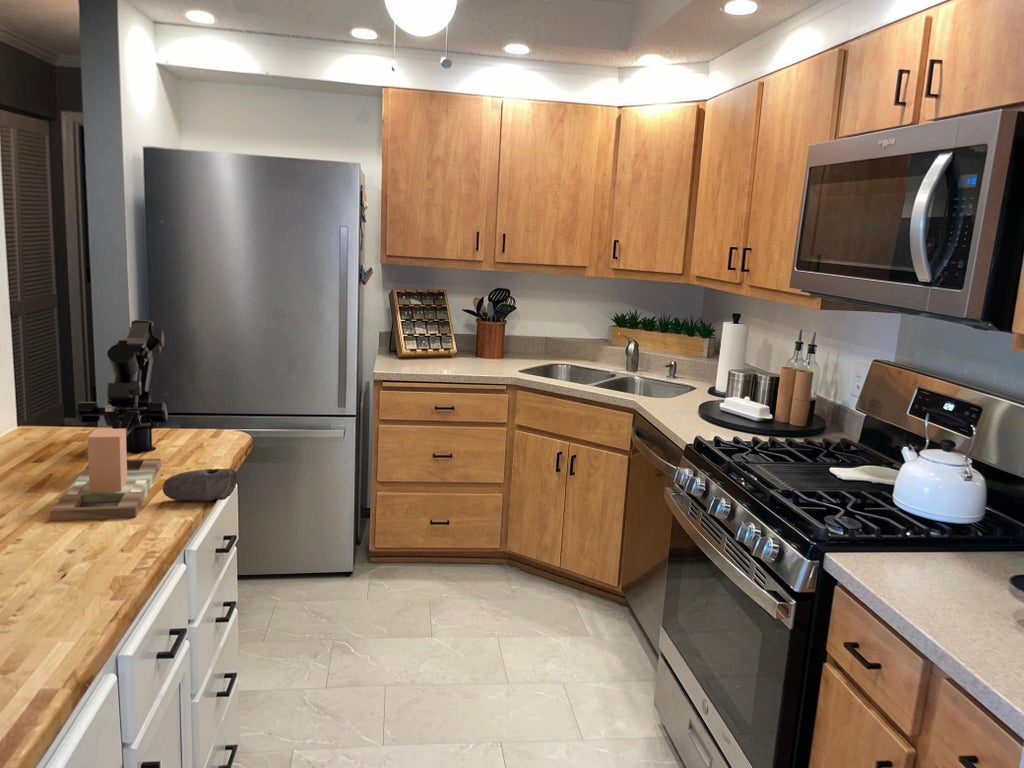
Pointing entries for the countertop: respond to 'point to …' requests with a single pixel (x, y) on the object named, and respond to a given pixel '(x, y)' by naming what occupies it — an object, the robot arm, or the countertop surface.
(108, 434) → the terracotta block
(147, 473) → the trap board
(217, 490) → the perforated stone tool
